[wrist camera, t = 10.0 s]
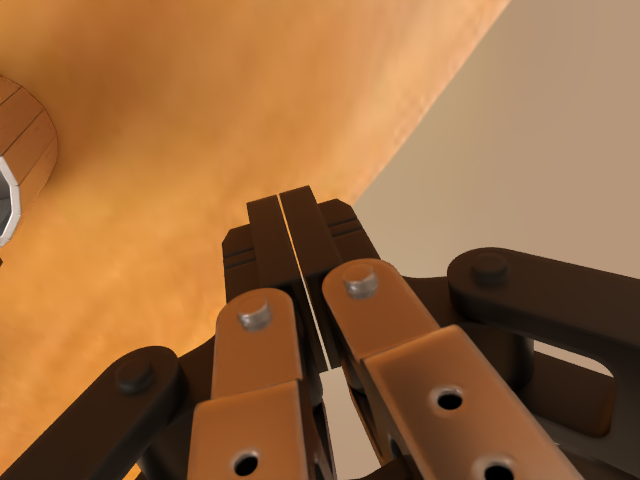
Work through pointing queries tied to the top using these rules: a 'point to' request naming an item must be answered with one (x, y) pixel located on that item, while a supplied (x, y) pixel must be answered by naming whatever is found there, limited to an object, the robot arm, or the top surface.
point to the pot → (22, 155)
